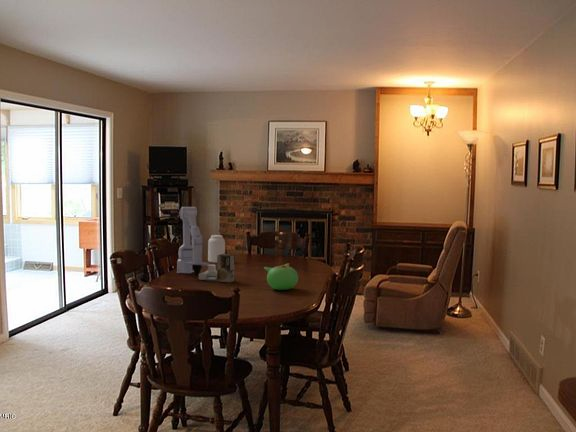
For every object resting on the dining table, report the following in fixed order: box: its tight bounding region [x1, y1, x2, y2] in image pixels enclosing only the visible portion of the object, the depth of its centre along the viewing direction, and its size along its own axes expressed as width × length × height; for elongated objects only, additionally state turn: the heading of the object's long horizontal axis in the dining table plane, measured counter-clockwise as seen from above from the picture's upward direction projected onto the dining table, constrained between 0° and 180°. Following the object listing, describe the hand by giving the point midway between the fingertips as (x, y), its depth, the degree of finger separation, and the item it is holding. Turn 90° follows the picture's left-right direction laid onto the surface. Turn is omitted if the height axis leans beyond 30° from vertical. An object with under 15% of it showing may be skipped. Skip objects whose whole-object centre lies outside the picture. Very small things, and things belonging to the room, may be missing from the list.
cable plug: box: [198, 272, 209, 281], centre depth 315 cm, size 5×4×4 cm
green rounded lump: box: [263, 262, 299, 291], centre depth 289 cm, size 18×17×15 cm
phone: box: [205, 276, 217, 282], centre depth 314 cm, size 6×8×1 cm
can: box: [207, 234, 226, 264], centre depth 382 cm, size 12×12×20 cm
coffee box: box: [216, 253, 235, 283], centre depth 309 cm, size 9×6×16 cm
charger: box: [207, 263, 217, 273], centre depth 328 cm, size 4×4×6 cm
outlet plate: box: [203, 269, 217, 277], centre depth 328 cm, size 12×9×2 cm
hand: (197, 277), depth 315 cm, fingers closed
